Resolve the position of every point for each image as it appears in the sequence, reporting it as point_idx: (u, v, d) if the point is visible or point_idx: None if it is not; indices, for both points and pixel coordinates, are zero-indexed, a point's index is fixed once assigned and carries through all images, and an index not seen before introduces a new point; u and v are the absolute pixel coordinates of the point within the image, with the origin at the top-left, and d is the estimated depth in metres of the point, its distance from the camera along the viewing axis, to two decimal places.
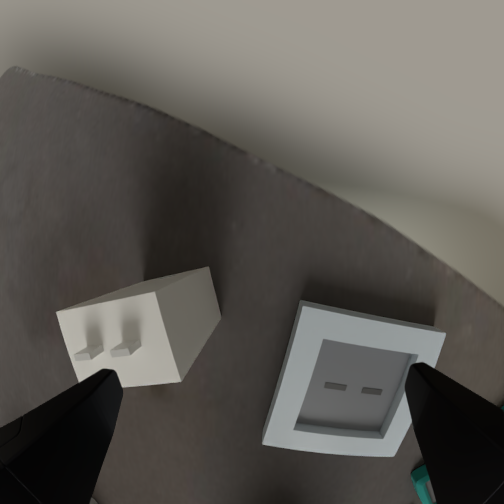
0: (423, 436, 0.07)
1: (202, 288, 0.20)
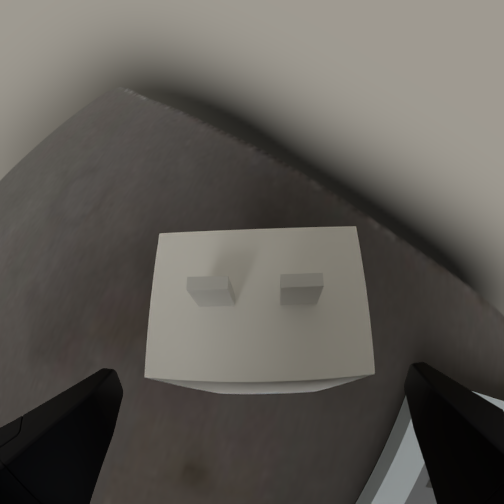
0: (423, 436, 0.07)
1: None
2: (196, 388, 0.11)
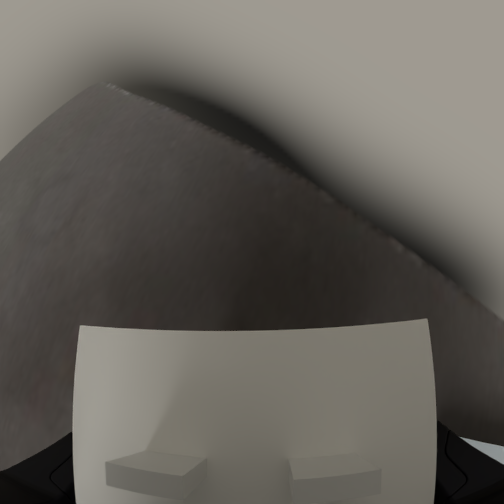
0: None
1: None
2: None
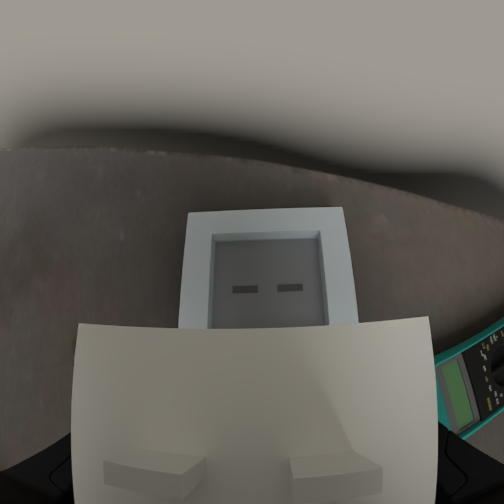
0: None
1: None
2: None
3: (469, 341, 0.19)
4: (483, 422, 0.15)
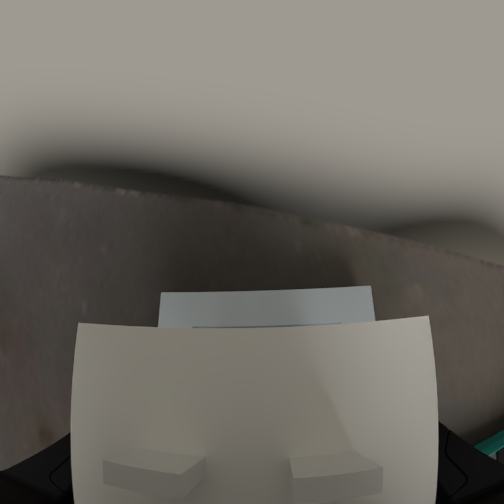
0: None
1: None
2: None
3: None
4: None
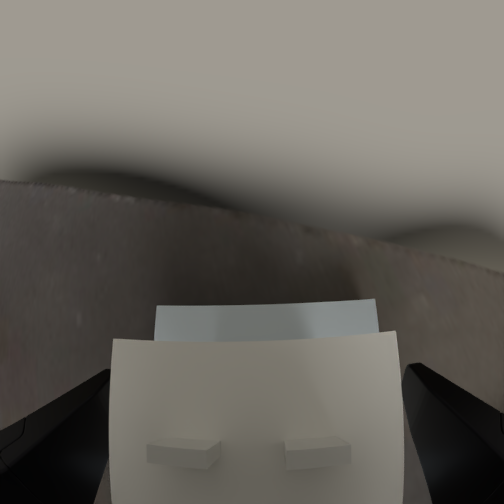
0: (419, 437, 0.07)
1: None
2: None
3: None
4: None
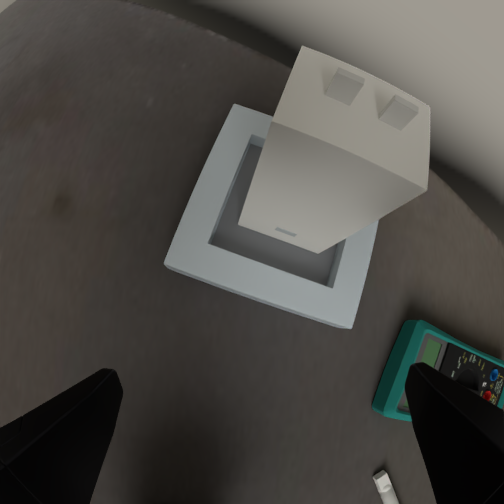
0: (423, 436, 0.07)
1: None
2: (255, 183, 0.13)
3: (458, 341, 0.20)
4: None
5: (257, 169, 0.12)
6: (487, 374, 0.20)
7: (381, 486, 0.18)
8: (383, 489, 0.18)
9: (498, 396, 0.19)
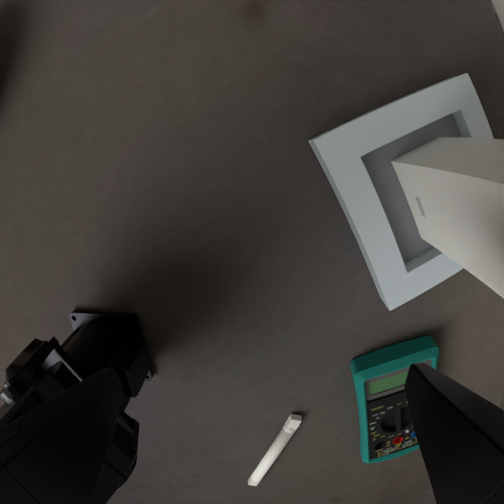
0: (423, 436, 0.07)
1: None
2: (448, 175, 0.11)
3: None
4: (365, 404, 0.22)
5: (465, 176, 0.10)
6: None
7: (288, 426, 0.25)
8: (287, 429, 0.25)
9: (400, 449, 0.25)
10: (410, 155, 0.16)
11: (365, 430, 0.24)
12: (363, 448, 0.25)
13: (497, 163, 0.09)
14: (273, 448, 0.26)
